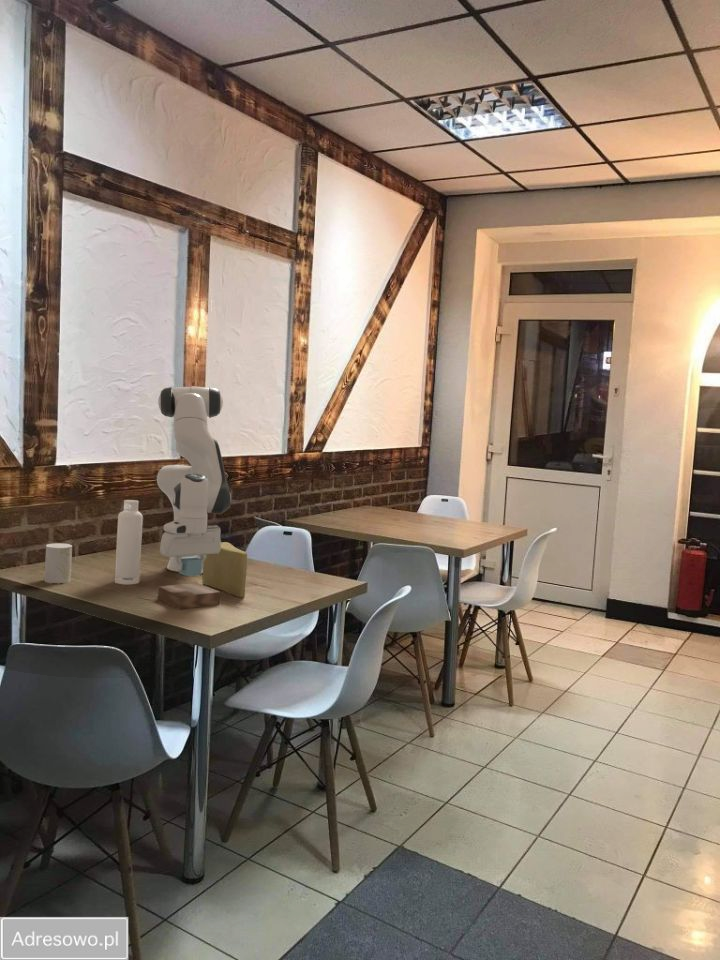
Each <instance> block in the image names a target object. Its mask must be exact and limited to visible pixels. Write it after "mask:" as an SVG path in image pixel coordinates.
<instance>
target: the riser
mask: <svg viewBox="0 0 720 960" xmlns="http://www.w3.org/2000/svg"><path fill="white" fill-rule="evenodd" d="M157 600H159V601H161V602H163V603H165V604H168V605H170V606H172V607H174V608H177V609H179V610H186V609H194V608H200V607H201V608H202V607H207V606H216V605H220V600H221V591H219V590H218V589H215V588H213V587H210V586H208V585H205V584H203V583H199V582H189V583H179V584H178V583H177V584H170V585H161V586H160V585H159V586H158V588H157Z"/></svg>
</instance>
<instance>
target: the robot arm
mask: <svg viewBox="0 0 720 960" xmlns="http://www.w3.org/2000/svg"><path fill="white" fill-rule="evenodd" d="M157 400H158V401H157V403H158V408H159V410H160V413H161V414H162V415H163V416H164V417H168V418H173V433H174V439H175V450H176V452H177V454H178V455H179V456H180V457H182V458H184V459H185V460H186V461H188V463H189V464H190V465H184V464H169V465H164V466H162V467H161V468H160V469H159V471H158V472H157V475H156V483H157V486H158V488H159V489H160V490H161V491H162V492H163V493H164V495H166V496H167V498H168V500H169V501H170V503H171V506H172V510H173V520H172V521H170V522H168V523H165V524H164V525H163V531H164V533H163V534H162V536H161V538H160V539H161V540H160V546H159V554H161V556H162V557H165V558H169V560H168V563H167V567H166V569H167V570H169V571H173V572H178V573H179V570H184V569H185V568H184V567H185V564H182V562H181V560H182V557H196V558H199V559H202V565H201V574H203V563H204V561H205V559H206V554H218V553H219V552H220V551H221V542H222V540H221V532H222V531H221V530H222V529H221V527H220V526H219V525H217V524H208V513H210V514H216V515H222V514H223V513H225V512H226V511H228V510H229V508H231V504H232V503H231V502H232V494H231V492H230V486H229V484H228V480H227V475H226V471H225V465H224V462H223V457H222V452H221V448H220V445H219V443H218V442H219V441H218V440H217V439H216V438H214V437H213V436H212V435H211V433H210V432H209V427H208V418H209V419H211V418H215V417H217V416H218V415H219V414H220V413H221V411H222V409H223V406H224V401H223V396H222V394H221V392H220V390H219V389H218V388H215V387H210V386H209V387H203V386H195V385H194V386H193V385H192V386H179V387H172V386H170V387H169V386H168V387H164V388H163V389H162V390H161V391H160V393H159V396H158V399H157Z"/></svg>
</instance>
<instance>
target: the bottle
mask: <svg viewBox="0 0 720 960" xmlns="http://www.w3.org/2000/svg"><path fill="white" fill-rule="evenodd" d="M139 503H140V502H139V500H137V499H124V500H123V510H122V511H121V512H119V513H118V516H117V530H116V531H117V534H116V549H115V551H116V553H115V571H114V575H115V576H114V583H115V584H118V585H119V584H120V585H137V584H139V583H140V574H141V557H142V538H143V522H144V521H143V520H144V516H143V514H142V513H141V512H140V511H139Z"/></svg>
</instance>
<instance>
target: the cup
mask: <svg viewBox="0 0 720 960" xmlns="http://www.w3.org/2000/svg"><path fill="white" fill-rule="evenodd" d="M72 553H73V545H72V544H70V543H57V542H55V543H47V544H46V545H45V559H44V560H45V561H44V562H45V563H44V582H45V583H46V582H47V584H52V583H58V584H59V583H63V584H67V582H68V583H70V582H71V581H72V579H71V578H72V577H71V576H72V575H71V574H72V560H73V559H72V558H73V557H72V555H73V554H72ZM58 584H57V585H58ZM59 585H60V584H59Z"/></svg>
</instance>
